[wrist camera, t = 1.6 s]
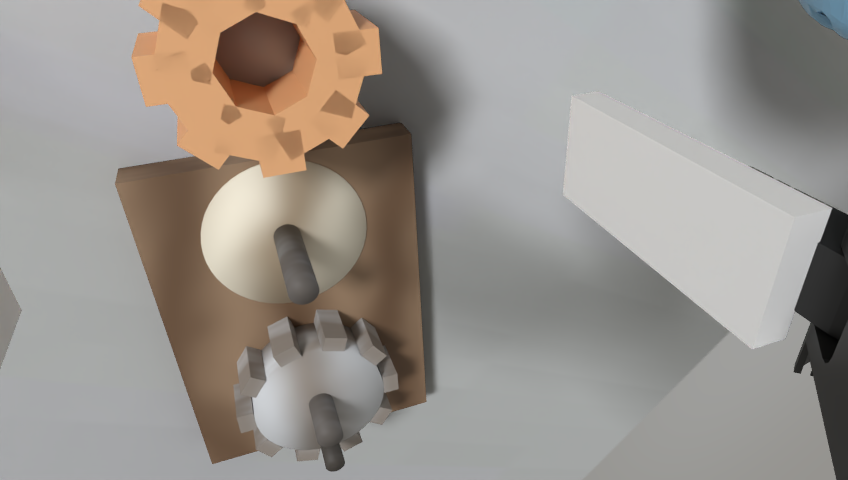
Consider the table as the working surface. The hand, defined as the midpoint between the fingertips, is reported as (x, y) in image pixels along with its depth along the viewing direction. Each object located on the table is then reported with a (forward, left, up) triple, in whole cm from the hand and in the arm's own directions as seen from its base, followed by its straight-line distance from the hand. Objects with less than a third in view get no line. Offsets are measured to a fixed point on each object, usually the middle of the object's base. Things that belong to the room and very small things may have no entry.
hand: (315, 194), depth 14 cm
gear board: (0, +18, -21) cm, 28 cm away
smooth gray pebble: (0, 0, -21) cm, 21 cm away
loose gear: (0, 0, -15) cm, 15 cm away
